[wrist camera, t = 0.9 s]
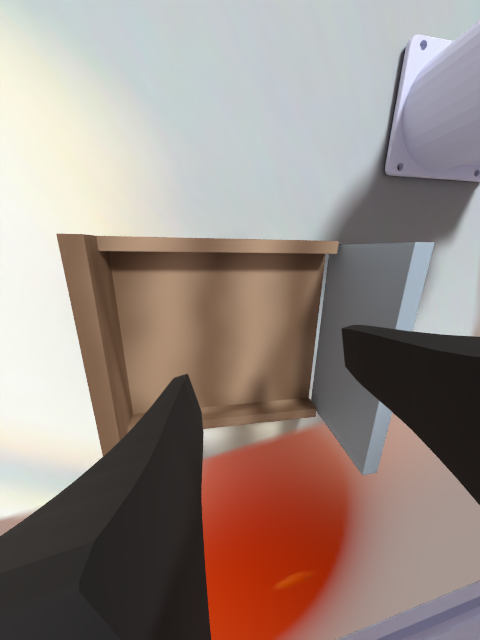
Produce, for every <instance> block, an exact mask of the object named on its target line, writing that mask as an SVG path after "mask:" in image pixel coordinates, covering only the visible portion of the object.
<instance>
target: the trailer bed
mask: <svg viewBox="0 0 480 640" xmlns="http://www.w3.org/2000/svg"><path fill="white" fill-rule="evenodd" d="M57 239H58V244H59V248H60V253H61V258H62V263H63V268H64V272H65V277H66V282H67V287H68V291H69V296H70V301H71V306H72V310H73V315H74V320H75V325H76V330H77V334H78V339H79V344H80V349H81V353H82V358H83V363H84V368H85V373H86V377H87V382H88V387H89V392H90V396H91V401H92V406H93V411H94V415H95V420H96V425H97V430H98V435H99V439H100V444H101V449H102V454H103V456H105V455H106V454H107V453H108V452H109V451H110V450H111V449H112V448H113V447H114V446H115V445H116V444H117V443H118V442H119V441H120V440H121V439H122V438H123V437H124V436H125V435H126V434H127V433H128V432H129V431H130V430H131V429H132V428H133V427H134V426H135V425H136V423H137V422H138V421H139V420H140V419H141V418H142V417H143V415H144V414H145V413H146V412H147V411H148V410H149V408H150V407H151V406H152V405H153V403H154V402H155V401H156V400H157V398H158V397H159V396H160V395H161V393H162V392H163V391H164V389H165V388H166V387H167V386H168V384H169V383H170V382H171V381H172V379H173V378H175V377H178V376H181V375H185V374H188V375H189V378H190V381H191V384H192V386H193V389H194V392H195V395H196V397H197V400H198V403H199V406H200V408H201V411H202V422H203V429H206V428H215V427H224V426H234V425H243V424H252V423H261V422H271V421H280V420H289V419H298V418H308V417H315V416H316V407H315V406H314V405H313V403H312V402H311V400H310V399H309V398H308V397H309V389H310V380H311V372H312V363H313V355H314V347H315V338H316V330H317V321H318V313H319V305H320V296H321V288H322V279H323V271H324V262H325V254H337V250H338V243H339V241H307V240H260V239H214V238H167V237H120V236H92V235H84V234H57Z"/></svg>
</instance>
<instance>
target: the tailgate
mask: <svg viewBox="0 0 480 640" xmlns="http://www.w3.org/2000/svg"><path fill="white" fill-rule="evenodd" d="M434 243H435V242H400V243H370V244H340V245H338V250H337V254H329V260H328V268H327V277H326V285H325V293H324V301H323V309H322V317H321V325H320V333H319V341H318V349H317V358H316V366H315V374H314V382H313V390H312V398H311V402H312V403H313V405H314V406H315V407H316V411H317V412H318V414H319V415H320V417H321V418H322V419H323V421H324V422H325V424H326V425H327V426H328V428H329V429H330V431H331V432H332V433H333V435H334V436H335V438H336V439H337V440H338V442H339V443H340V445H341V446H342V447H343V449H344V450H345V452H346V453H347V454H348V456H349V457H350V459H351V460H352V461H353V463H354V464H355V466H356V467H357V468H358V470H359V471H360V472H361V474H362V475H367V474H373V473H377V471H378V467H379V463H380V458H381V455H382V451H383V446H384V443H385V439H386V435H387V431H388V426H389V422H390V419H391V415H392V411H390V410H389V409H388V408H387V407H386V406H385V405H384V404H382V403H381V402H380V401H379V400H378V399H377V398H376V397H374V396H373V395H372V394H371V393H370V392H369V391H368V390H366V389H365V388H364V387H363V386H362V385H361V384H360V383H359V382H358V381H357V380H356V379H355V378H354V377H353V376H352V374H351V373H350V372H349V371H348V370H347V368H346V367H345V361H344V351H343V340H342V330H341V328H344V327H348V326H351V325H368V326H376V327H383V328H390V329H397V330H405V331H413V327H414V323H415V319H416V315H417V311H418V307H419V303H420V299H421V295H422V291H423V287H424V283H425V279H426V275H427V271H428V267H429V263H430V259H431V255H432V251H433V247H434Z"/></svg>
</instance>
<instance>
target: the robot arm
mask: <svg viewBox="0 0 480 640" xmlns="http://www.w3.org/2000/svg"><path fill="white" fill-rule="evenodd" d="M420 46H421V48H422V50H421V48H420ZM397 166H399V170H398V169H397ZM385 172H386V174H387V175H391V176H405V177H418V178H432V179H446V180H459V181H473V182H480V20H479V21H478V22H476V23H475V24H474V25H473V26H471V27H470V28H469V29H468V30H467V31H465V32H464V33H463V34H462V35H461V36H459V37H458V38H457V39H456V40H454V41H450V40H445V39H440V38H434V37H429V36H424V35H414V36H413V37H412V38H411V39H410V40H409V41H408V43H407V45H406V50H405V55H404V61H403V67H402V73H401V78H400V84H399V90H398V96H397V101H396V107H395V113H394V119H393V124H392V130H391V136H390V142H389V147H388V153H387V159H386V165H385ZM341 330H342V340H343V351H344V361H345V367H346V368H347V370H348V371H349V372H350V373H351V374H352V376H353V377H354V378H355V379H356V380H357V381H358V382H359V383H360V384H361V385H362V386H363V387H364V388H365V389H366V390H368V391H369V392H370V393H371V394H372V395H373V396H374V397H376V398H377V399H378V400H379V401H380V402H381V403H382V404H384V405H385V406H386V407H387V408H388V409H389V410H390V411H392V412H393V413H394V414H395V415H396V416H398V417H399V418H400V419H401V420H402V421H403V422H404V423H405V424H406V425H407V426H408V427H409V428H410V429H412V430H413V432H414V433H415V434H417V436H418V437H419V438H420V439H421V440H422V441H423V442H424V443H425V444H426V445H427V446H428V447H429V448H430V449H431V450H432V451H433V453H434V454H435V455H436V456H437V457H438V458H439V459H440V460H441V461H442V462H443V464H444V465H445V466H446V467H447V468H448V469H449V470H450V471H451V472H452V473H453V475H454V476H455V477H456V478H457V479H458V480H459V481H460V482H461V484H462V485H463V486H464V487H465V488H466V489H467V491H468V492H469V493H470V494H471V495H472V497H473V498H474V499H475V500H476V501H477V502H478V504H479V505H480V337H472V336H453V335H440V334H430V333H421V332H413V331H405V330H397V329H390V328H383V327H376V326H368V325H351V326H348V327H344V328H341ZM202 458H203V422H202V411H201V408H200V406H199V403H198V400H197V397H196V395H195V392H194V389H193V386H192V384H191V381H190V378H189V375H188V374H185V375H181V376H178V377H175V378H173V379H172V381H171V382H170V383H169V384H168V386H167V387H166V388H165V389H164V391H163V392H162V393H161V395H160V396H159V397H158V398H157V400H156V401H155V402H154V403H153V405H152V406H151V407H150V408H149V410H148V411H147V412H146V413H145V414H144V415H143V417H142V418H141V419H140V420H139V421H138V422H137V423H136V425H135V426H134V427H133V428H132V429H131V430H130V431H129V432H128V433H127V434H126V435H125V436H124V437H123V438H122V439H121V440H120V441H119V442H118V443H117V444H116V445H115V446H114V447H113V448H112V449H111V450H110V451H109V452H108V453H107V454H106V455H105V456H103V457H102V458H101V459H100V460H99V461H98V462H97V463H95V464H94V465H93V466H92V467H91V468H90V469H88V470H87V471H86V472H85V473H84V474H83V475H82V476H80V477H79V478H78V479H77V480H76V481H74V482H73V483H72V484H71V485H69V486H68V487H67V488H66V489H64V490H63V491H62V492H61V493H59V494H58V495H57V496H55V497H54V498H53V499H51V500H50V501H49V502H48V503H46V504H45V505H44V506H42V507H41V508H40V509H38V510H37V511H36V512H34V513H33V514H31V515H30V516H29V517H27V518H26V519H25V520H23V521H22V522H20V523H19V524H17V525H16V526H15V527H13V528H12V529H10V530H9V531H8V532H6V533H4V534H3V535H1V536H0V640H211V633H210V623H209V611H208V598H207V585H206V572H205V558H204V542H203V525H202V506H201V482H202ZM337 640H480V580H479V581H477V582H475V583H472V584H470V585H467V586H465V587H462V588H460V589H458V590H455V591H453V592H451V593H448V594H446V595H443V596H441V597H438V598H436V599H434V600H431V601H429V602H426V603H424V604H422V605H419V606H416V607H414V608H412V609H409V610H407V611H404V612H402V613H399V614H397V615H395V616H392V617H390V618H387V619H385V620H382V621H380V622H378V623H375V624H373V625H370V626H368V627H366V628H363V629H361V630H358V631H356V632H353V633H351V634H348V635H346V636H344V637H341V638H339V639H337Z"/></svg>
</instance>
